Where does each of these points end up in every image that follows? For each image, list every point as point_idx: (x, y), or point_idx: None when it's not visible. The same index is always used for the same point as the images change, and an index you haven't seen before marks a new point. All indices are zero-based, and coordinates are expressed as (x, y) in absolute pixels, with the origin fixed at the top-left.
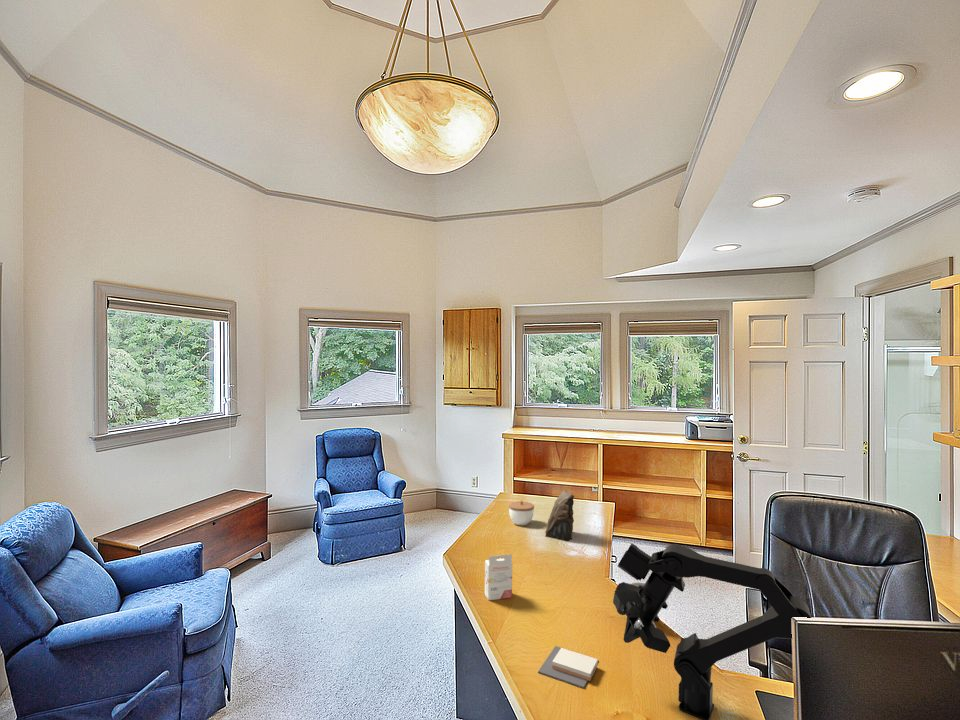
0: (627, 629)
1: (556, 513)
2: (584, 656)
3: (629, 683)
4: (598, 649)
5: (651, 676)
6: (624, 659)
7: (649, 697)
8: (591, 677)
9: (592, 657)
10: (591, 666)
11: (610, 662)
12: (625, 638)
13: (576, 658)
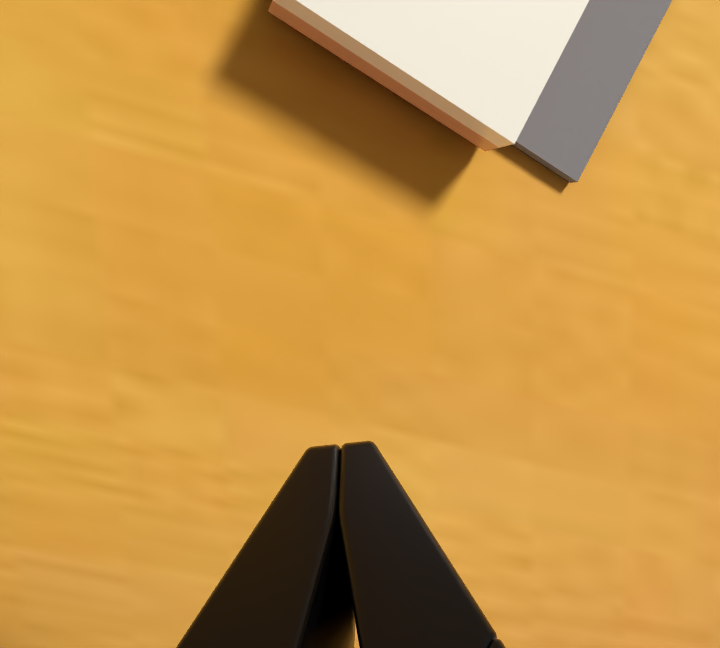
0: (365, 645)
1: None
2: (554, 15)
3: (276, 383)
4: (708, 229)
5: None
6: (582, 415)
7: (95, 511)
8: (310, 35)
9: (599, 138)
10: (399, 41)
11: (546, 288)
12: (313, 488)
13: None
